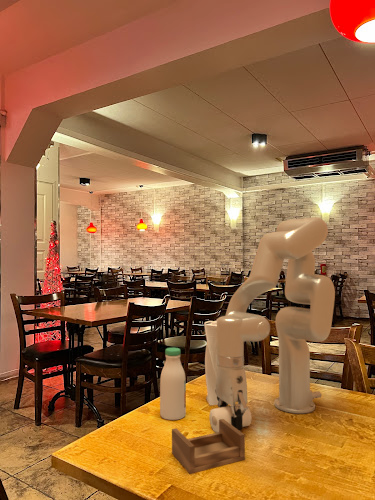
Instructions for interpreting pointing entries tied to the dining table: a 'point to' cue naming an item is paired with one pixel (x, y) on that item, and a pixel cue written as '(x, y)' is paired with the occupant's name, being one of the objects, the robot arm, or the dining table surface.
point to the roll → (227, 417)
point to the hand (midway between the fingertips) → (230, 425)
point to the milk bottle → (172, 387)
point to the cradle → (209, 448)
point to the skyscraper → (211, 361)
